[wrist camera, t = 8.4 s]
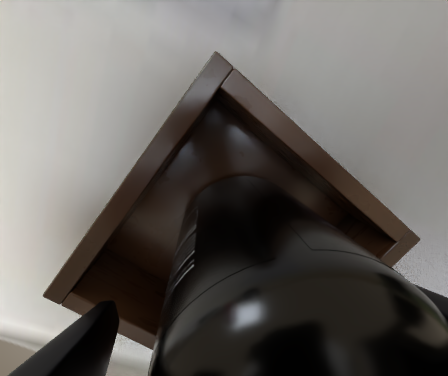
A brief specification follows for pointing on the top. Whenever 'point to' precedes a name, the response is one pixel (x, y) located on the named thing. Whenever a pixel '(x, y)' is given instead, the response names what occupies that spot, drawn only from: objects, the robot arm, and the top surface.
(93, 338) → the robot arm
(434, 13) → the top surface
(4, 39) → the top surface
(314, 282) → the supplement bottle
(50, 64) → the top surface
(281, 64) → the top surface
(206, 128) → the holder
